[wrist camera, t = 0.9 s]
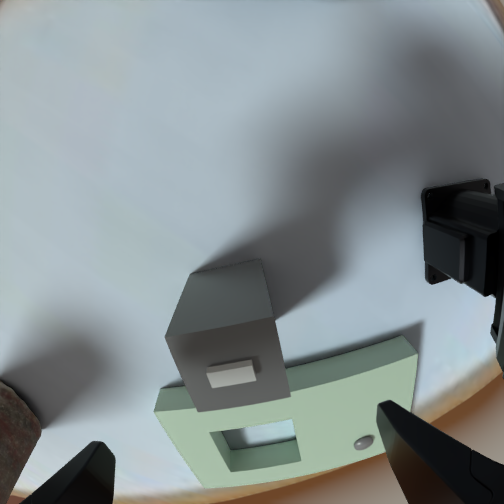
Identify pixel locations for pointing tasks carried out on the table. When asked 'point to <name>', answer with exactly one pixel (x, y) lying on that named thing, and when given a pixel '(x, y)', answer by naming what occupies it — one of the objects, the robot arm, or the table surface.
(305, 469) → the socket box
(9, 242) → the table surface
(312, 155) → the table surface
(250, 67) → the table surface
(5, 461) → the brown cylinder
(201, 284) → the block
